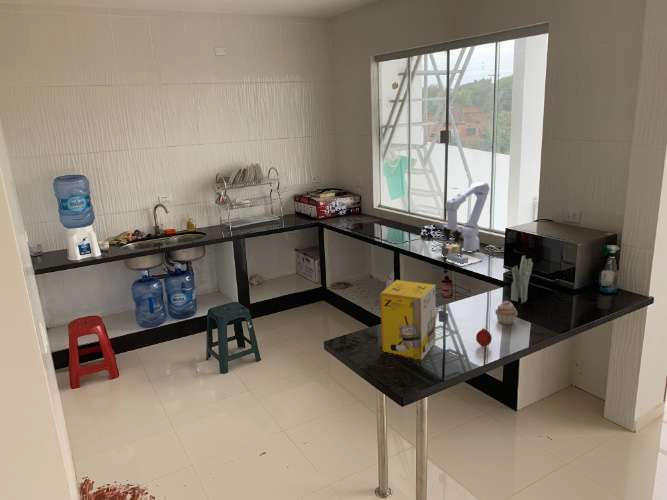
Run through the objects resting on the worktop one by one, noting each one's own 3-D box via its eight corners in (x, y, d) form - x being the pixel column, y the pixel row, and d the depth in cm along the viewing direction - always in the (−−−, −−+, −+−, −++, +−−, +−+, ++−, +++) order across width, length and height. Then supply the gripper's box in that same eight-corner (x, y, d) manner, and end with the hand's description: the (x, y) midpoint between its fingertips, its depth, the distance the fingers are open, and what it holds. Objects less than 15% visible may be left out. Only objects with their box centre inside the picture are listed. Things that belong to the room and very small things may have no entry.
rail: (457, 253, 317) (457, 244, 315) (462, 254, 313) (462, 245, 312) (441, 256, 311) (441, 247, 309) (446, 258, 307) (446, 249, 306)
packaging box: (422, 360, 188) (421, 299, 181) (382, 352, 196) (380, 293, 189) (435, 342, 201) (435, 284, 195) (398, 335, 209) (396, 279, 202)
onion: (479, 342, 200) (480, 323, 197) (493, 345, 196) (494, 326, 194) (473, 347, 195) (473, 329, 193) (487, 351, 192) (488, 332, 190)
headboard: (465, 256, 309) (465, 249, 308) (481, 261, 297) (482, 254, 296) (445, 261, 302) (445, 254, 301) (461, 266, 290) (461, 259, 289)
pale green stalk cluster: (520, 311, 226) (522, 269, 220) (504, 308, 229) (506, 267, 224) (533, 291, 248) (535, 252, 242) (518, 289, 251) (520, 251, 246)
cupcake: (507, 328, 210) (508, 306, 207) (490, 321, 218) (490, 299, 215) (522, 322, 214) (523, 301, 211) (504, 315, 222) (505, 294, 219)
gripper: (439, 218, 310) (439, 240, 314) (455, 222, 298) (455, 244, 301) (448, 217, 313) (447, 238, 317) (464, 221, 301) (463, 242, 305)
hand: (452, 241), depth 309 cm, fingers open, 7 cm apart
